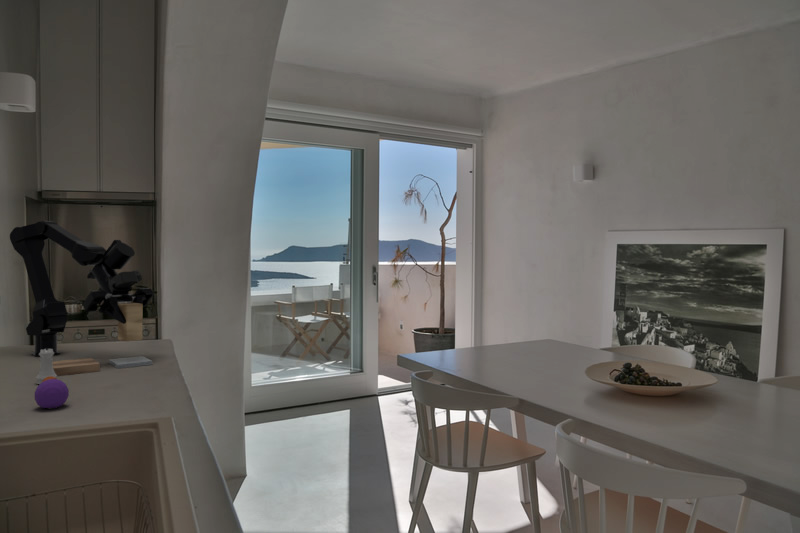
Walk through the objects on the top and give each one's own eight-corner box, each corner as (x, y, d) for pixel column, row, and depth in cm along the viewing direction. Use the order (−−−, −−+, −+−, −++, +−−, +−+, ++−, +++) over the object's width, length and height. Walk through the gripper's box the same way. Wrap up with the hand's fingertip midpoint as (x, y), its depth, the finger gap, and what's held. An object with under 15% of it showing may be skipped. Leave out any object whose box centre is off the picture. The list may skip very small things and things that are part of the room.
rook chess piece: (61, 381, 140) (61, 348, 140) (48, 385, 136) (48, 351, 135) (44, 380, 140) (44, 347, 140) (31, 384, 136) (30, 350, 136)
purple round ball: (67, 371, 134) (72, 382, 117) (62, 397, 133) (66, 412, 116) (37, 369, 130) (38, 379, 114) (31, 396, 130) (31, 410, 113)
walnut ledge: (44, 369, 152) (44, 362, 152) (90, 364, 159) (90, 357, 159) (51, 376, 145) (51, 368, 145) (99, 371, 152) (99, 363, 152)
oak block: (117, 339, 161) (118, 303, 160) (132, 337, 165) (133, 302, 164) (127, 341, 158) (127, 304, 158) (142, 339, 162) (142, 303, 162)
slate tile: (108, 363, 162) (108, 359, 162) (142, 359, 168) (142, 356, 168) (117, 368, 155) (117, 364, 155) (152, 364, 161) (152, 361, 161)
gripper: (89, 261, 155) (114, 305, 149) (150, 260, 171) (175, 300, 166) (72, 289, 159) (96, 332, 154) (133, 286, 175) (157, 325, 170)
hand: (133, 321), depth 161 cm, fingers closed on oak block, 5 cm apart
